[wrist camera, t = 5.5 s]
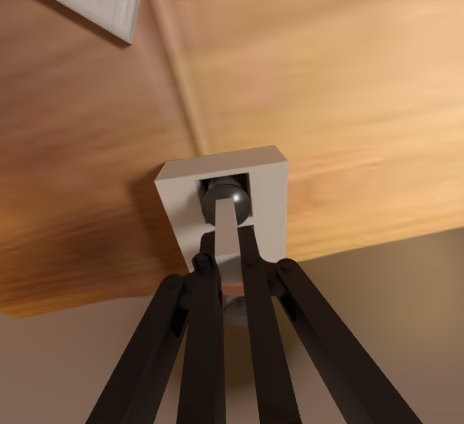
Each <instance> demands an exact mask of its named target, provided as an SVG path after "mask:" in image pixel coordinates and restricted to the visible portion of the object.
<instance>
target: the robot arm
mask: <svg viewBox="0 0 464 424" xmlns="http://www.w3.org/2000/svg"><path fill="white" fill-rule="evenodd" d="M191 262H192V264H193V267H194V271H193V272H191V273H189V274H187V275H185V276H183V277H181V276H180V275H178V274H172V275H169V276H167V277H166V278H165V279H164V280H163V281H162V282H161V284H160V286H159V288H158V290H157V291H156V293H155V295H154V297H153V299H152V301H151V303H150V305H149V306H148V308H147V310H146V312H145V314H144V316H143V317H142V320H141V321H140V323H139V325H138V327H137V329H136V330H135V332H134V334H133V336H132V338H131V340H130V342H129V343H128V345H127V347H126V349H125V351H124V353H123V355H122V356H121V358H120V360H119V362H118V364H117V366H116V368H115V369H114V371H113V373H112V375H111V377H110V379H109V381H108V383H107V385H106V386H105V388H104V390H103V392H102V394H101V395H100V397H99V399H98V401H97V403H96V405H95V407H94V408H93V411H92V412H91V414H90V416H89V418H88V420H87V421H86V423H85V424H153V423H154V420H155V417H156V414H157V412H158V409H159V406H160V403H161V400H162V397H163V394H164V391H165V388H166V385H167V383H168V380H169V377H170V374H171V371H172V368H173V365H174V362H175V359H176V356H177V353H178V351H179V348H180V345H181V342H182V339H183V336H184V333H185V330H186V327H187V325H188V330H187V339H186V347H185V355H184V364H183V372H182V380H181V388H180V397H179V405H178V414H177V422H176V424H226V401H225V362H224V325H223V324H224V323H223V292H222V288H221V282H222V285H227V284H234V283H242V282H243V287H244V295H245V303H246V312H247V320H248V328H249V336H250V345H251V352H252V361H253V369H254V377H255V386H256V394H257V402H258V411H259V419H260V424H302V422H301V418H300V415H299V410H298V406H297V402H296V398H295V394H294V390H293V386H292V382H291V377H290V373H289V369H288V365H287V361H286V357H285V353H284V349H283V344H282V340H281V336H280V332H279V328H278V324H277V320H276V316H275V311H274V307H273V304H272V299H271V296H276V297H277V298H278V300H279V302H280V304H281V305H282V307H283V309H284V311H285V313H286V314H287V316H288V318H289V320H290V322H291V323H292V325H293V327H294V329H295V330H296V332H297V334H298V336H299V338H300V340H301V342H302V343H303V345H304V347H305V349H306V350H307V352H308V354H309V356H310V358H311V360H312V361H313V363H314V365H315V367H316V369H317V370H318V372H319V374H320V376H321V378H322V379H323V381H324V383H325V385H326V386H327V388H328V390H329V392H330V394H331V396H332V397H333V399H334V401H335V403H336V405H337V406H338V408H339V410H340V412H341V414H342V415H343V417H344V419H345V421H346V423H347V424H423V423H422V422H421V421H420V420H419V418H418V417H417V416H416V414H415V413H414V412H413V411H412V409H411V408H410V407H409V405H408V404H407V403H406V402H405V400H404V399H403V398H402V397H401V395H400V394H399V393H398V391H397V390H396V389H395V388H394V386H393V385H392V384H391V382H390V381H389V380H388V379H387V377H386V376H385V375H384V374H383V372H382V371H381V370H380V369H379V367H378V366H377V365H376V363H375V362H374V361H373V359H372V358H371V357H370V356H369V354H368V353H367V352H366V350H365V349H364V348H363V347H362V345H361V344H360V343H359V342H358V340H357V339H356V338H355V336H354V335H353V334H352V333H351V331H350V330H349V329H348V327H347V326H346V325H345V324H344V322H343V321H342V320H341V318H340V317H339V316H338V315H337V314H336V312H335V311H334V310H333V308H332V307H331V306H330V305H329V303H328V302H327V301H326V299H325V298H324V297H323V296H322V294H321V293H320V292H319V290H318V289H317V288H316V287H315V285H314V284H313V283H312V281H311V280H310V279H309V278H308V276H307V275H306V274H305V272H304V271H303V270H302V269H301V267H300V266H299V265H298V263H296V262H295V261H294V260H292V259H288V258H284V259H280V260H279V261H278V262H277V263H273V262H268V261H265V260H264V259H262V257H261V256H260V254H259V249H258V245H257V241H256V237H255V233H254V230H253V229H252V228H251V227H250V226H247V227H240V228H237V221H236V215H235V208H234V201H233V198H227V199H220V200H216V215H215V232H208V233H204V234H203V235H202V237H201V241H200V251H199V253H197V254H196V255H195V256H194V257H193V258H192V261H191Z"/></svg>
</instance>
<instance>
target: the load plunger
mask: <svg viewBox="0 0 464 424" xmlns="http://www.w3.org/2000/svg"><path fill="white" fill-rule="evenodd" d="M221 288H222V292H223V295H227V296H243V295H244V287H243V282H242V283H234V284H227V285H222V282H221Z"/></svg>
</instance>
